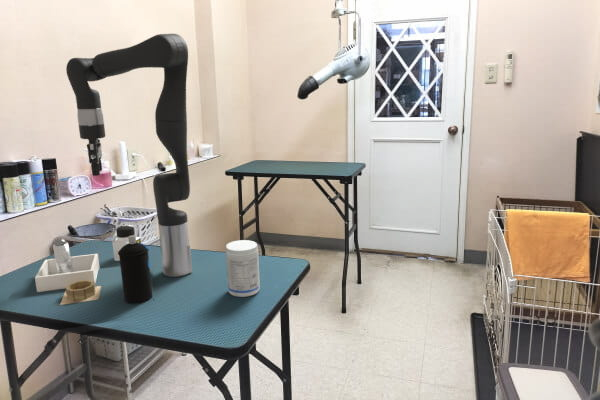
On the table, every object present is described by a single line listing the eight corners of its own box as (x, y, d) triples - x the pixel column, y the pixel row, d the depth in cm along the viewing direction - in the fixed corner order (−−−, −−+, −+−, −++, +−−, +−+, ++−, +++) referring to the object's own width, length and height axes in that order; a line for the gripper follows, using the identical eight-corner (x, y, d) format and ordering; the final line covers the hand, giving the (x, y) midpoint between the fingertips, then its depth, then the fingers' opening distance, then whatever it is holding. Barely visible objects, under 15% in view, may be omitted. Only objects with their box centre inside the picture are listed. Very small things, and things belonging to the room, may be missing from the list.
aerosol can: (137, 311, 132) (129, 242, 128) (117, 305, 137) (109, 238, 132) (160, 300, 139) (153, 234, 134) (141, 294, 143) (134, 230, 139)
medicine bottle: (132, 262, 170) (128, 229, 167) (114, 261, 171) (110, 229, 168) (142, 255, 176) (139, 223, 174) (125, 254, 178) (121, 223, 175)
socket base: (101, 290, 147) (100, 276, 146) (99, 304, 137) (97, 289, 136) (66, 295, 144) (64, 281, 143) (60, 309, 135) (58, 294, 134)
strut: (62, 277, 155) (55, 237, 151) (76, 276, 155) (70, 236, 152) (56, 283, 150) (48, 241, 147) (71, 282, 151) (64, 240, 147)
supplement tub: (230, 284, 149) (227, 239, 145) (261, 284, 148) (259, 239, 145) (225, 298, 139) (222, 250, 136) (258, 298, 139) (256, 250, 135)
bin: (99, 270, 163) (97, 253, 161) (95, 288, 148) (93, 270, 147) (47, 276, 158) (45, 259, 157) (37, 296, 143) (34, 277, 142)
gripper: (81, 122, 158) (87, 170, 162) (75, 125, 145) (82, 178, 149) (105, 121, 161) (111, 168, 164) (102, 124, 147) (108, 176, 151)
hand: (97, 173), depth 157 cm, fingers open, 8 cm apart
